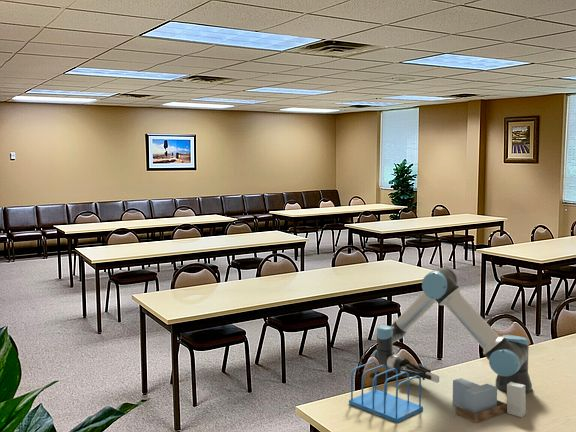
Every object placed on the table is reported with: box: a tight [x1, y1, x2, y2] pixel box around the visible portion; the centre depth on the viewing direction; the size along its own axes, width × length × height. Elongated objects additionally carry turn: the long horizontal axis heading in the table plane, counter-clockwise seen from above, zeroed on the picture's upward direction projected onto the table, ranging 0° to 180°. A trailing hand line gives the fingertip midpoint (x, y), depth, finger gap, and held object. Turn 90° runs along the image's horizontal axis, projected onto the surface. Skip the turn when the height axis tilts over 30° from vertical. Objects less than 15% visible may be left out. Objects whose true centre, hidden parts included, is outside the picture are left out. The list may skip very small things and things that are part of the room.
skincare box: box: [506, 382, 527, 418], centre depth 230 cm, size 6×4×12 cm
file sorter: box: [348, 361, 424, 423], centre depth 238 cm, size 25×17×15 cm
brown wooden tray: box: [455, 399, 507, 424], centre depth 232 cm, size 19×10×3 cm, turn 124°
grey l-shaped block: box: [452, 377, 498, 414], centre depth 236 cm, size 13×15×10 cm
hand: (438, 379), depth 251 cm, fingers closed
